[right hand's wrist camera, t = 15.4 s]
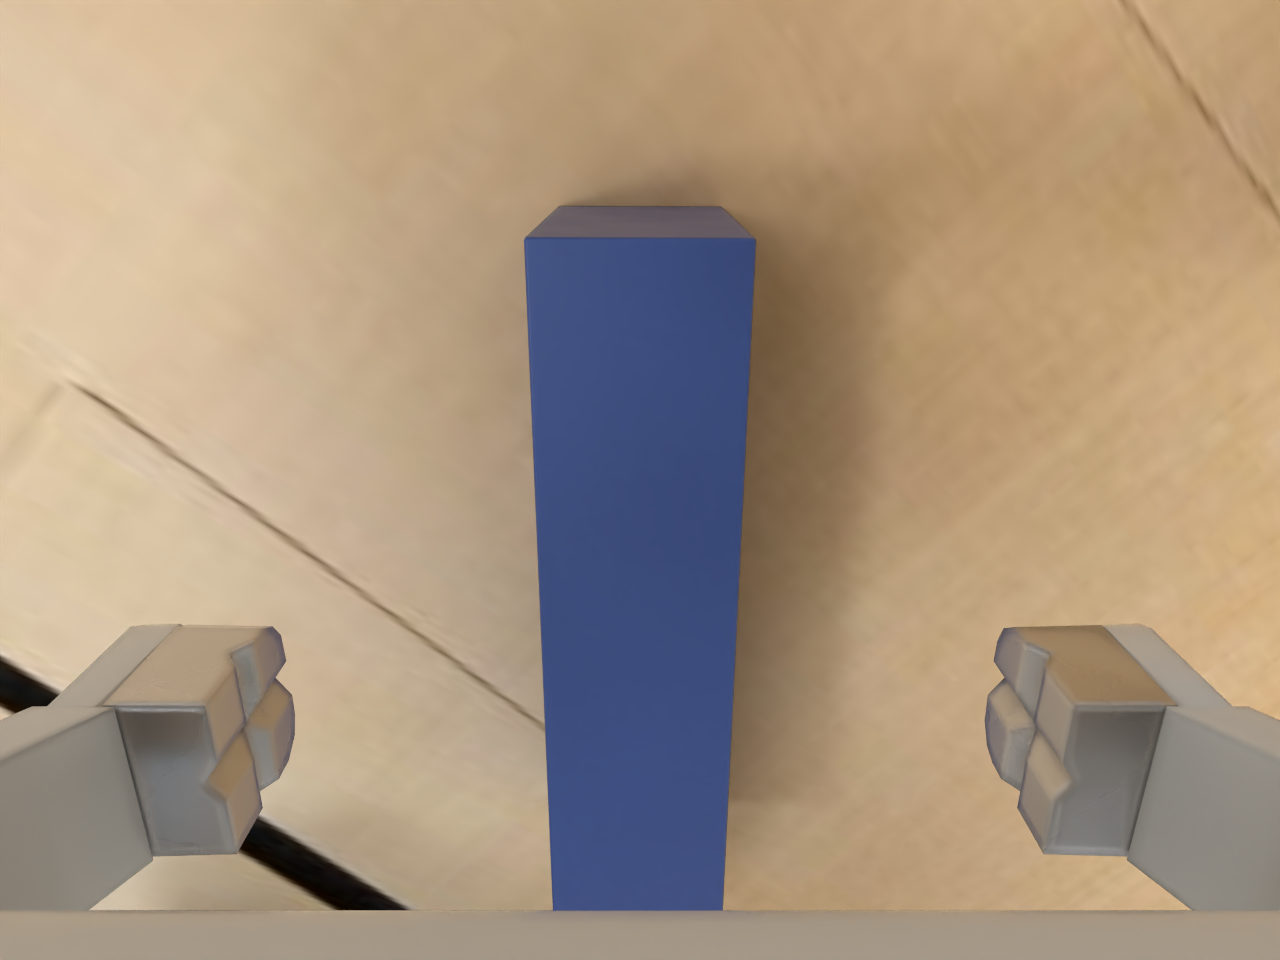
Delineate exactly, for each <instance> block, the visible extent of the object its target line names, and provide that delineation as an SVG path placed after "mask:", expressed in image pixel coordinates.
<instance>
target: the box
mask: <svg viewBox="0 0 1280 960" xmlns="http://www.w3.org/2000/svg"><path fill="white" fill-rule="evenodd" d="M524 249H525V273H526V296H527V319H528V342H529V365H530V388H531V412H532V435H533V458H534V481H535V504H536V527H537V551H538V574H539V597H540V620H541V643H542V666H543V689H544V713H545V736H546V759H547V782H548V805H549V828H550V852H551V875H552V898H553V911H723V895H724V875H725V855H726V834H727V814H728V794H729V774H730V754H731V734H732V714H733V694H734V674H735V654H736V634H737V614H738V593H739V573H740V553H741V533H742V513H743V493H744V473H745V453H746V433H747V413H748V393H749V373H750V352H751V332H752V312H753V292H754V272H755V252H756V240H755V238H754V237H753V236H752V235H751V234H750V233H749V232H748V231H746V230H745V229H744V228H743V227H742V226H741V225H740V224H739V223H738V222H737V221H736V220H735V219H734V218H733V217H732V216H731V215H730V214H728V213H727V212H726V211H725V210H724V209H723V208H722V207H693V206H559V207H558V208H557V209H556V210H555V211H553V212H552V213H551V214H550V215H549V216H548V217H547V218H546V219H545V220H544V221H543V222H542V223H541V224H539V225H538V226H537V227H536V228H535V229H534V230H533V231H532V232H531V233H530V234H529V235H528V236H526V237H525V239H524Z"/></svg>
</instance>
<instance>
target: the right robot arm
mask: <svg viewBox="0 0 1280 960" xmlns="http://www.w3.org/2000/svg"><path fill="white" fill-rule="evenodd" d="M285 662H286V658H285V653H284V648H283V643H282V639H281V635H280V634H279V633H278V632H277V631H276V630H275V629H274V628H273V627H271V626H219V625H185V626H183V625H181V624H160V625H139V626H133V627H130V628H129V629H128V630H127V631H126V632H125V633H124V634H123V635H122V636H121V637H119V638H118V639H117V640H116V641H115V642H114V643H113V644H112V645H111V646H110V647H109V648H108V649H107V650H106V651H105V652H104V653H103V654H102V655H101V656H100V657H99V658H97V659H96V660H95V661H94V662H93V663H92V664H91V665H90V666H89V667H88V668H87V669H86V670H85V671H84V672H83V673H82V674H81V675H80V676H79V677H78V678H77V679H75V680H74V681H73V682H72V683H71V684H70V685H69V686H68V687H67V688H66V689H65V690H64V691H63V692H62V693H61V694H60V695H59V696H58V697H57V698H56V699H55V700H53V701H52V702H51V703H50V704H49V705H48V706H47V707H30V708H28V709H25V710H23V711H21V712H18V713H16V714H14V715H11V716H9V717H7V718H4V719H2V720H0V960H1280V720H1278V719H1275V718H1273V717H1271V716H1269V715H1266V714H1264V713H1262V712H1259V711H1257V710H1255V709H1252V708H1250V707H1233V706H1232V705H1231V704H1230V703H1229V702H1228V701H1227V700H1226V699H1225V698H1223V697H1222V696H1221V695H1220V694H1219V693H1218V692H1217V691H1216V690H1215V689H1214V688H1213V687H1212V686H1211V685H1210V684H1209V683H1208V682H1207V681H1206V680H1205V679H1204V678H1203V677H1202V676H1200V675H1199V674H1198V673H1197V672H1196V671H1195V670H1194V669H1193V668H1192V667H1191V666H1190V665H1189V664H1188V663H1187V662H1186V661H1185V660H1184V659H1183V658H1182V657H1181V656H1180V655H1179V654H1178V653H1176V652H1175V651H1174V650H1173V649H1172V648H1171V647H1170V646H1169V645H1168V644H1167V643H1166V642H1165V641H1164V640H1163V639H1162V638H1161V637H1160V636H1159V635H1158V634H1157V633H1156V632H1155V631H1153V630H1152V629H1151V628H1149V627H1147V626H1144V625H1141V624H1121V625H1087V626H1047V627H1013V628H1004V629H1003V631H1002V633H1001V635H1000V637H999V639H998V641H997V646H996V652H995V657H994V662H995V664H996V665H997V667H998V668H999V670H1000V671H1001V673H1002V674H1003V676H1004V677H1005V678H1004V679H1003V680H1002V681H1001V682H1000V683H999V684H998V685H997V686H996V687H995V688H994V689H993V690H992V691H991V692H990V693H989V694H988V699H987V707H986V715H985V729H986V740H987V746H988V750H989V753H990V756H991V759H992V763H993V764H994V766H995V768H996V770H997V772H998V774H999V776H1000V778H1001V779H1002V780H1004V781H1005V782H1007V783H1009V784H1010V785H1012V786H1013V787H1015V788H1016V789H1018V790H1019V791H1020V796H1019V802H1018V807H1017V808H1018V810H1019V812H1020V813H1021V815H1022V817H1023V819H1024V820H1025V822H1026V824H1027V826H1028V827H1029V829H1030V831H1031V833H1032V834H1033V836H1034V838H1035V840H1036V841H1037V843H1038V845H1039V847H1040V848H1041V850H1042V852H1043V854H1059V855H1095V856H1128V857H1127V861H1129V862H1130V863H1131V864H1133V865H1134V866H1135V867H1137V868H1138V869H1139V870H1140V871H1142V872H1143V873H1144V874H1146V875H1147V876H1148V877H1150V878H1151V879H1152V880H1153V881H1155V882H1156V883H1157V884H1159V885H1160V886H1161V887H1163V888H1164V889H1165V890H1166V891H1168V892H1169V893H1170V894H1172V895H1173V896H1174V897H1176V898H1177V899H1178V900H1179V901H1181V902H1182V903H1183V904H1185V905H1186V906H1187V907H1188V908H1190V909H1191V910H1051V911H296V910H294V911H293V910H89V909H90V908H92V907H93V906H94V905H96V904H97V903H98V902H100V901H101V900H102V899H103V898H105V897H106V896H107V895H109V894H110V893H111V892H113V891H114V890H115V889H116V888H118V887H119V886H120V885H122V884H123V883H124V882H126V881H127V880H128V879H129V878H131V877H132V876H133V875H135V874H136V873H137V872H139V871H140V870H141V869H143V868H144V867H145V866H146V865H148V864H149V863H150V862H152V861H153V858H152V856H184V855H219V854H237V852H238V850H239V849H240V847H241V845H242V843H243V841H244V840H245V838H246V836H247V834H248V833H249V831H250V829H251V827H252V826H253V824H254V822H255V820H256V819H257V817H258V815H259V813H260V812H261V810H262V808H263V807H262V802H261V796H260V791H261V790H262V789H264V788H265V787H267V786H268V785H270V784H271V783H273V782H275V781H276V780H278V779H279V778H280V776H281V774H282V772H283V770H284V768H285V766H286V764H287V762H288V760H289V757H290V752H291V748H292V744H293V740H294V735H295V712H294V705H293V699H292V694H291V693H290V692H289V691H288V690H287V689H286V688H285V687H284V686H283V685H282V684H281V683H280V682H279V681H278V680H277V679H276V678H275V677H276V676H277V674H278V673H279V671H280V670H281V668H282V667H283V665H284V664H285Z"/></svg>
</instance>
